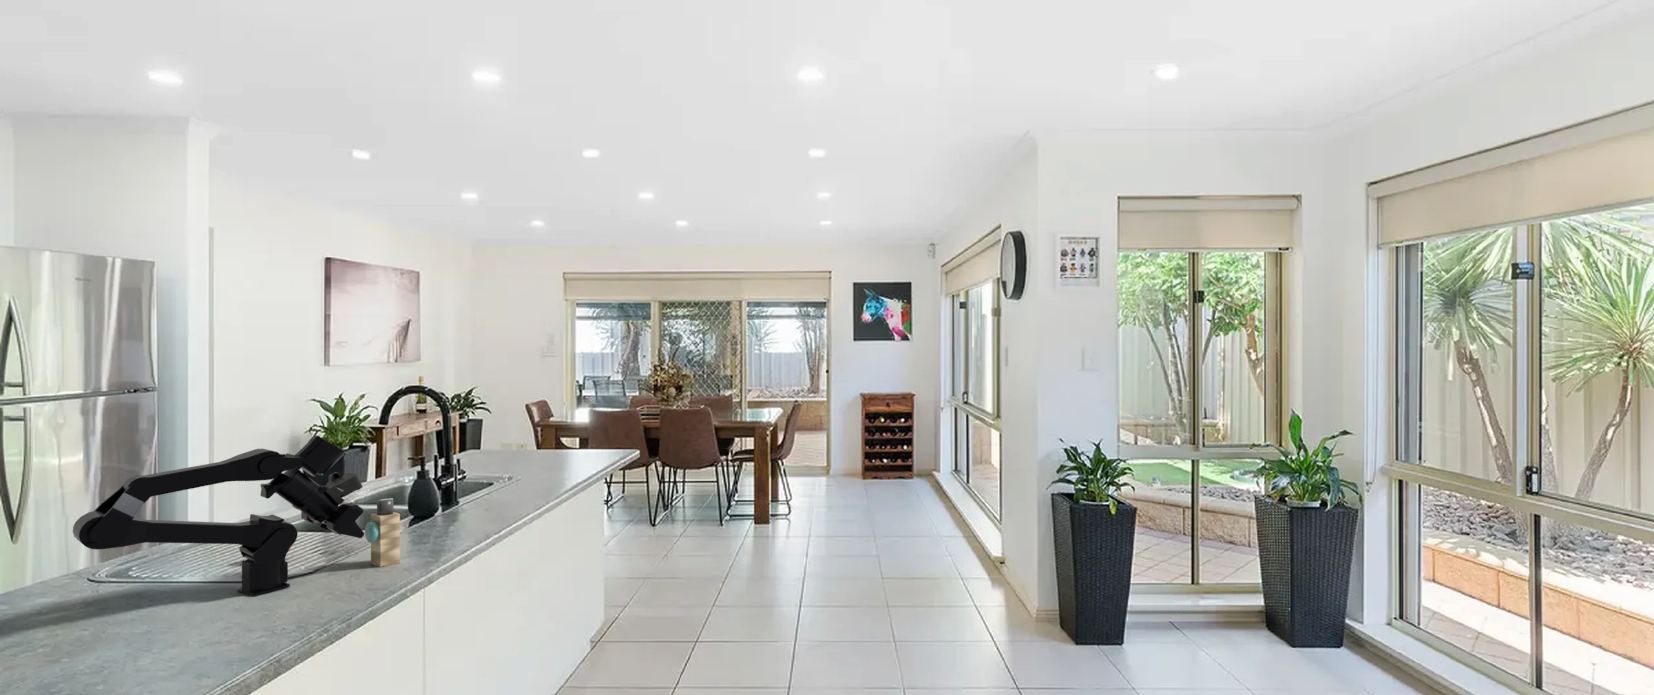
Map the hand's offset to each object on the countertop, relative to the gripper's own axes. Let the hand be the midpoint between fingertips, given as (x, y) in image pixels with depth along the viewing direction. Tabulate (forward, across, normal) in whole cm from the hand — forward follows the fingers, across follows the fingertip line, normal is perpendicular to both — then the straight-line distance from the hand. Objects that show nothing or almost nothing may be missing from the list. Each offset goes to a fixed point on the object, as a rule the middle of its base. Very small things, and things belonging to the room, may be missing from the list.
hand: (362, 536), depth 162 cm
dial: (0, 0, -6) cm, 6 cm away
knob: (+4, 0, -2) cm, 5 cm away
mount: (+8, 0, +2) cm, 8 cm away
